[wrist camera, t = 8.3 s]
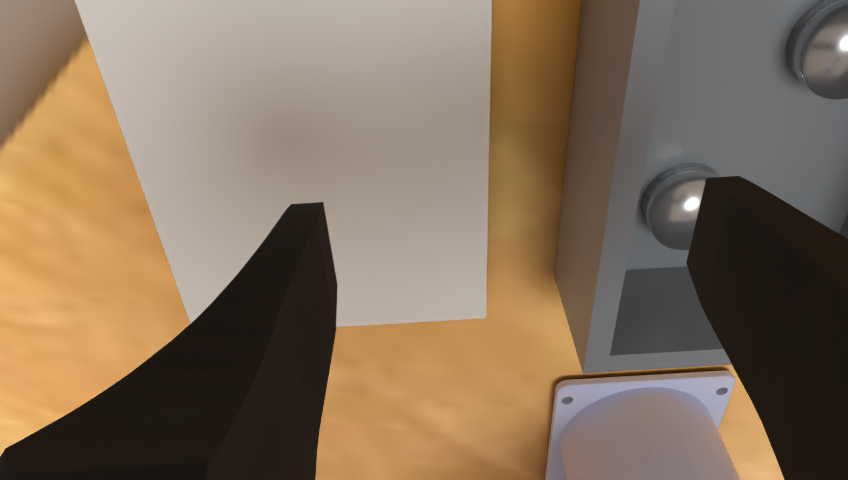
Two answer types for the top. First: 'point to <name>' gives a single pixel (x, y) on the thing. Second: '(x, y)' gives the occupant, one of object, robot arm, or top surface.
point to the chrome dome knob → (675, 203)
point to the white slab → (311, 139)
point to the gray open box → (679, 161)
